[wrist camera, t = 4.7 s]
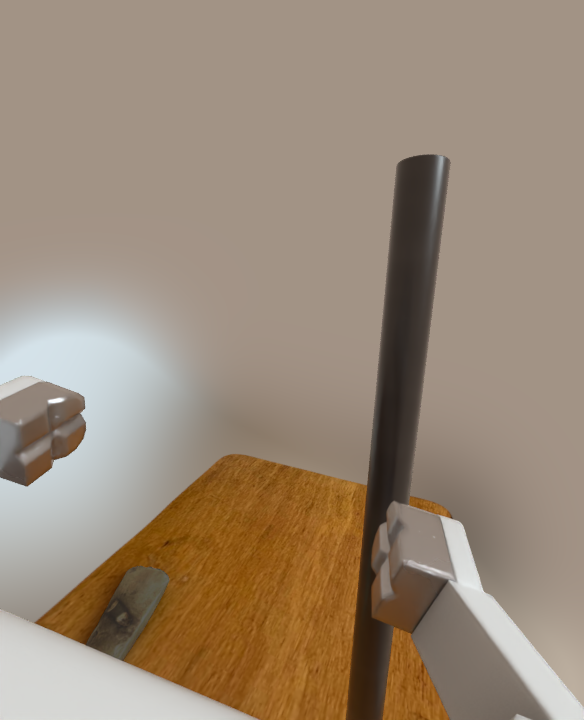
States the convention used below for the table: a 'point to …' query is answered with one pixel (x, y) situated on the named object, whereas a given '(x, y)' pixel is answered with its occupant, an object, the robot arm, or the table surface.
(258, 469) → the table surface
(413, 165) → the stick
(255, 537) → the table surface
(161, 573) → the stone
